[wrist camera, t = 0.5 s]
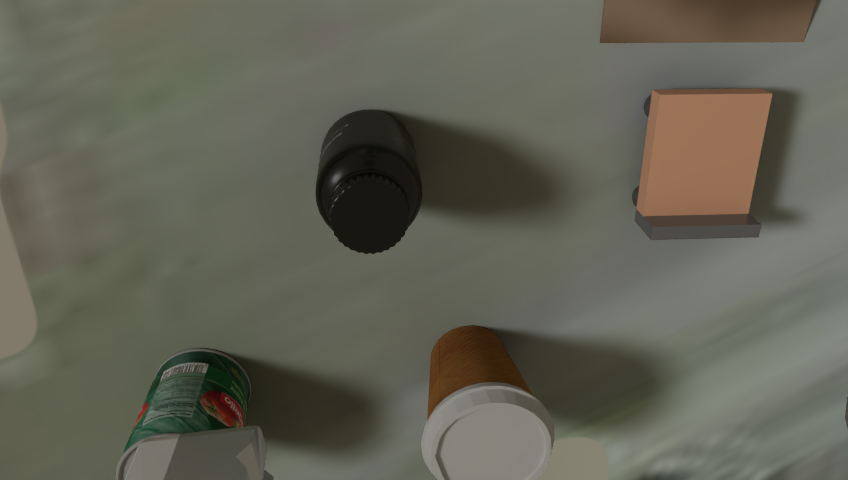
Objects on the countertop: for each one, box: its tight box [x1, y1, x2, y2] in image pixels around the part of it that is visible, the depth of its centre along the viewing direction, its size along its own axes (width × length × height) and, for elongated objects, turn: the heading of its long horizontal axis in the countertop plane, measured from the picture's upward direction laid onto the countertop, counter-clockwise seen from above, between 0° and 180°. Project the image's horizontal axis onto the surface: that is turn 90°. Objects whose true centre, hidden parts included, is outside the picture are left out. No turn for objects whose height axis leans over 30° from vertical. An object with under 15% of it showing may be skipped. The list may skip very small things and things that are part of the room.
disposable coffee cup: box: [421, 326, 554, 480], centre depth 59 cm, size 10×10×12 cm
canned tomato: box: [116, 348, 251, 480], centre depth 58 cm, size 8×8×11 cm
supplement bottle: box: [316, 110, 422, 254], centre depth 50 cm, size 7×7×12 cm
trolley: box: [632, 89, 772, 240], centre depth 55 cm, size 10×8×6 cm
